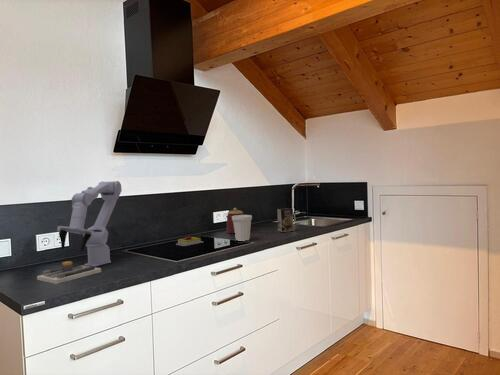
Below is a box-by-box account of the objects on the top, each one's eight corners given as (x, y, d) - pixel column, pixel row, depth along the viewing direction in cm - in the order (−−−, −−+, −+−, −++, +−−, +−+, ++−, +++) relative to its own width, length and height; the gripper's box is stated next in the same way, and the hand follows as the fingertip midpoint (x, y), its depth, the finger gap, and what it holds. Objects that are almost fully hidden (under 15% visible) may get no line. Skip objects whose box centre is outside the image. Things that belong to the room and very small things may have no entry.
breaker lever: (68, 270, 156) (68, 261, 156) (72, 271, 154) (72, 261, 154) (62, 272, 153) (62, 262, 153) (67, 273, 152) (66, 263, 152)
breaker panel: (82, 268, 167) (81, 261, 167) (101, 271, 159) (100, 264, 159) (37, 279, 150) (36, 272, 150) (56, 284, 142) (55, 276, 142)
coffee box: (282, 233, 247) (281, 209, 246) (277, 232, 252) (276, 208, 252) (293, 231, 250) (293, 208, 250) (289, 230, 256) (288, 207, 256)
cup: (255, 241, 218) (254, 216, 218) (234, 243, 215) (233, 217, 215) (250, 238, 230) (249, 214, 230) (230, 240, 227) (229, 215, 227)
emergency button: (174, 237, 220) (195, 234, 230) (175, 245, 220) (195, 241, 230) (183, 239, 213) (204, 235, 224) (184, 246, 213) (204, 242, 224)
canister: (248, 231, 260) (247, 206, 260) (240, 234, 248) (239, 208, 248) (231, 231, 265) (231, 206, 265) (223, 233, 254) (222, 208, 253)
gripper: (62, 214, 154) (55, 246, 149) (97, 220, 162) (92, 250, 157) (58, 217, 159) (52, 248, 155) (93, 223, 167) (88, 252, 163)
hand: (72, 249), depth 156 cm, fingers open, 7 cm apart
